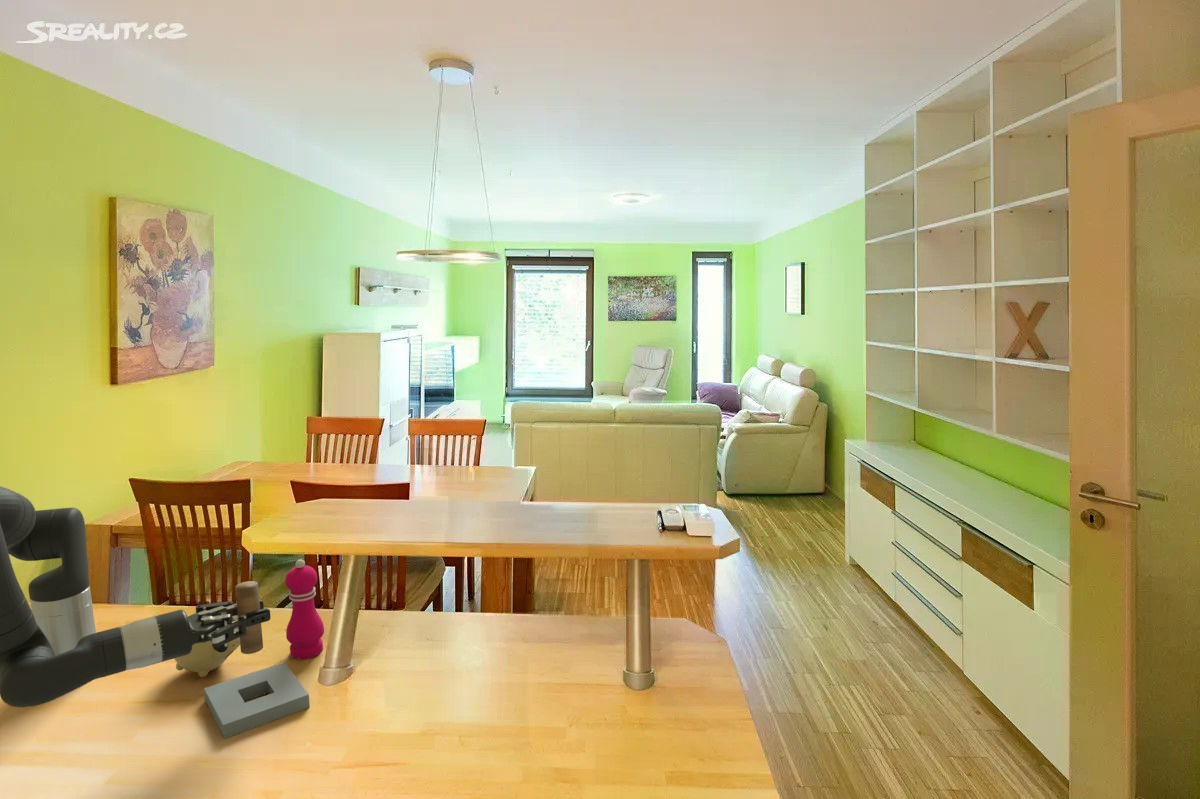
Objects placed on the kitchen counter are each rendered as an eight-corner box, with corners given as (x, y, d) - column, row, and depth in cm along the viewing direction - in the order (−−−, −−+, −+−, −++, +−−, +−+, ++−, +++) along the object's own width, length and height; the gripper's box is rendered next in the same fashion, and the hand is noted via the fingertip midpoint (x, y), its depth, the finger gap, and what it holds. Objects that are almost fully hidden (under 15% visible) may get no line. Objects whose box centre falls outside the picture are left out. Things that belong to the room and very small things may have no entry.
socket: (205, 700, 133) (204, 688, 132) (285, 674, 141) (284, 662, 141) (224, 738, 122) (223, 725, 122) (309, 707, 131) (308, 694, 130)
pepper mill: (297, 642, 153) (290, 552, 150) (331, 642, 153) (324, 553, 150) (281, 660, 146) (273, 566, 143) (316, 661, 146) (310, 567, 142)
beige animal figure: (223, 685, 137) (218, 633, 136) (163, 682, 139) (157, 630, 137) (252, 658, 147) (248, 609, 145) (197, 655, 148) (191, 606, 146)
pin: (238, 648, 130) (232, 584, 128) (259, 641, 132) (254, 579, 130) (243, 656, 127) (238, 591, 125) (265, 649, 129) (260, 586, 127)
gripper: (160, 635, 113) (276, 603, 124) (145, 603, 124) (253, 577, 135) (165, 679, 115) (279, 644, 126) (150, 643, 126) (256, 614, 136)
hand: (265, 609), depth 130 cm, fingers closed on pin, 3 cm apart
